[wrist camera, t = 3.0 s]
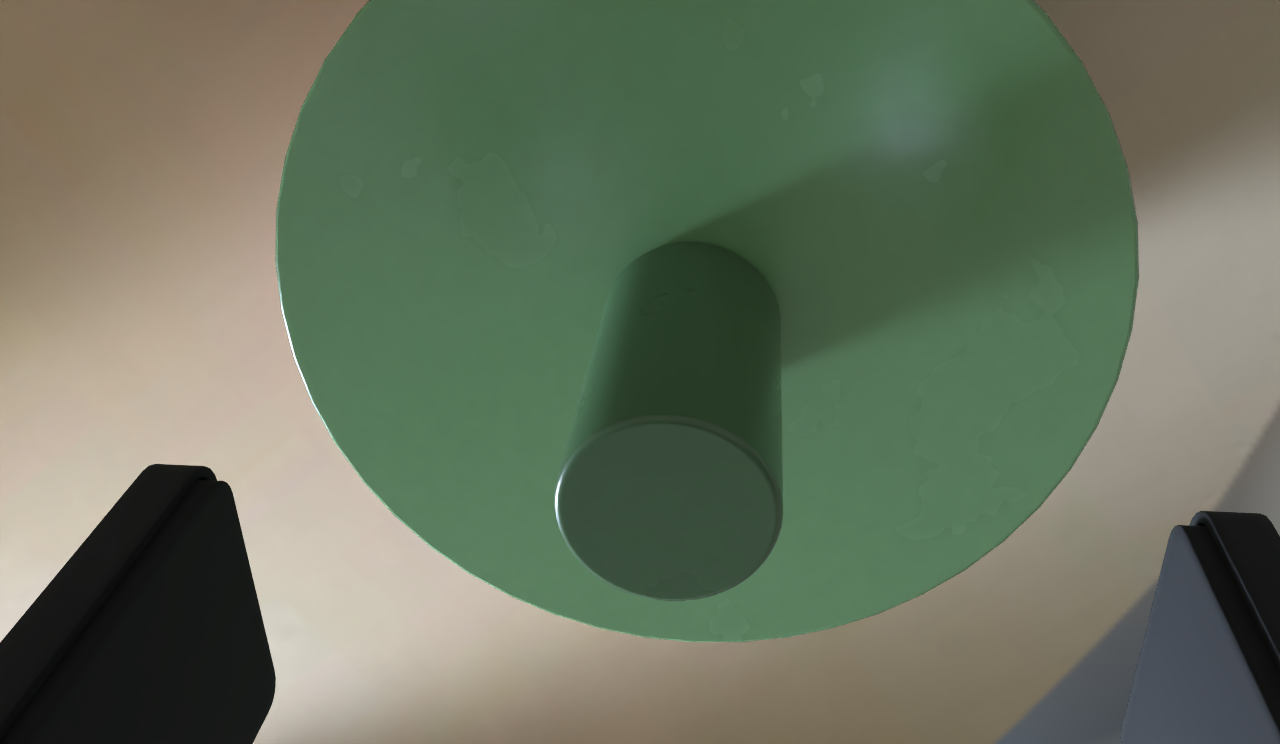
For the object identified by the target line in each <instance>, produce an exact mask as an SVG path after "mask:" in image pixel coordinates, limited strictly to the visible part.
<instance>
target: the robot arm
mask: <svg viewBox="0 0 1280 744" xmlns="http://www.w3.org/2000/svg"><path fill="white" fill-rule="evenodd" d="M275 680H276V678H275V670H274V666H273V662H272V658H271V654H270V649H269V645H268V641H267V637H266V632H265V628H264V624H263V620H262V615H261V611H260V607H259V603H258V599H257V594H256V590H255V586H254V582H253V577H252V573H251V569H250V565H249V560H248V556H247V552H246V548H245V544H244V539H243V535H242V531H241V527H240V522H239V518H238V514H237V510H236V505H235V501H234V497H233V493H232V490H231V488H230V486H229V485H228V483H226V482H224V481H217V479H216V476H215V474H214V473H213V472H212V470H211V469H210V468H207V467H205V466H187V465H165V464H154V465H150V466H148V467H147V468H146V469H145V470H143V471H142V473H141V474H140V475H139V476H138V477H137V479H136V480H135V481H134V482H133V483H132V485H131V486H130V487H129V488H128V489H127V491H126V492H125V493H124V494H123V495H122V497H121V498H120V499H119V500H118V502H117V503H116V504H115V505H114V506H113V508H112V509H111V510H110V511H109V512H108V514H107V515H106V516H105V517H104V518H103V520H102V521H101V522H100V523H99V524H98V526H97V527H96V528H95V529H94V530H93V532H92V533H91V534H90V535H89V536H88V538H87V539H86V540H85V541H84V542H83V544H82V545H81V546H80V547H79V549H78V550H77V551H76V552H75V553H74V555H73V556H72V557H71V558H70V559H69V561H68V562H67V563H66V564H65V565H64V567H63V568H62V569H61V570H60V571H59V573H58V574H57V575H56V576H55V577H54V579H53V580H52V581H51V582H50V583H49V585H48V586H47V587H46V588H45V590H44V591H43V592H42V593H41V594H40V596H39V597H38V598H37V599H36V600H35V602H34V603H33V604H32V605H31V606H30V608H29V609H28V610H27V611H26V612H25V614H24V615H23V616H22V617H21V618H20V620H19V621H18V622H17V623H16V624H15V626H14V627H13V628H12V629H11V631H10V632H9V633H8V634H7V635H6V637H5V638H4V639H3V640H2V641H1V643H0V744H252V743H253V742H254V740H255V738H256V736H257V734H258V732H259V730H260V728H261V726H262V724H263V722H264V720H265V718H266V716H267V714H268V712H269V710H270V707H271V705H272V702H273V698H274V693H275ZM1121 744H1280V536H1279V535H1278V533H1277V531H1276V529H1275V528H1274V526H1273V524H1272V523H1271V521H1270V520H1269V519H1268V518H1267V516H1265V515H1262V514H1257V513H1235V512H1234V513H1233V512H1212V511H1200V512H1198V513H1196V514H1195V516H1194V517H1193V518H1192V520H1191V523H1190V526H1185V525H1177V526H1175V527H1174V528H1173V530H1172V531H1171V534H1170V537H1169V540H1168V544H1167V548H1166V552H1165V556H1164V560H1163V564H1162V568H1161V572H1160V576H1159V580H1158V584H1157V588H1156V592H1155V596H1154V601H1153V604H1152V608H1151V612H1150V616H1149V620H1148V625H1147V628H1146V632H1145V636H1144V641H1143V644H1142V648H1141V652H1140V657H1139V661H1138V665H1137V669H1136V673H1135V677H1134V681H1133V685H1132V689H1131V693H1130V697H1129V701H1128V705H1127V709H1126V713H1125V717H1124V721H1123V725H1122V731H1121Z"/></svg>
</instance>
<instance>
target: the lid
mask: <svg viewBox="0 0 1280 744" xmlns="http://www.w3.org/2000/svg"><path fill="white" fill-rule="evenodd" d="M275 260H276V269H277V277H278V285H279V294H280V302H281V310H282V314H283V318H284V322H285V326H286V329H287V333H288V337H289V341H290V345H291V348H292V352H293V356H294V359H295V362H296V364H297V366H298V369H299V371H300V374H301V376H302V379H303V381H304V384H305V386H306V389H307V391H308V393H309V396H310V398H311V401H312V403H313V405H314V406H315V408H316V410H317V412H318V414H319V415H320V417H321V419H322V421H323V422H324V424H325V426H326V428H327V430H328V431H329V433H330V435H331V437H332V439H333V440H334V442H335V444H336V445H337V447H338V448H339V449H340V451H341V452H342V453H343V455H344V456H345V457H346V459H347V460H348V462H349V463H350V464H351V466H352V467H353V468H354V470H355V471H356V472H357V474H358V475H359V477H360V478H361V479H362V481H363V482H364V483H365V484H366V485H367V486H368V487H369V488H370V489H371V491H372V492H373V493H374V494H375V495H376V496H377V497H378V498H379V499H380V500H381V501H382V502H383V503H384V505H385V506H386V507H387V508H388V509H389V510H390V511H391V512H392V513H393V514H394V515H395V516H396V517H397V518H398V519H399V520H400V521H401V522H403V523H404V524H405V525H406V526H407V527H408V528H410V529H411V530H412V531H413V532H414V533H415V534H416V535H418V536H419V537H420V538H421V539H422V540H423V541H425V542H426V543H427V544H428V545H429V546H430V547H432V548H433V549H435V550H436V551H438V552H439V553H440V554H442V555H443V556H445V557H446V558H448V559H449V560H451V561H452V562H453V563H455V564H456V565H458V566H459V567H461V568H462V569H464V570H465V571H466V572H468V573H469V574H471V575H473V576H475V577H477V578H478V579H480V580H482V581H484V582H486V583H488V584H489V585H491V586H493V587H495V588H497V589H499V590H500V591H502V592H504V593H506V594H508V595H510V596H512V597H514V598H516V599H519V600H521V601H524V602H526V603H528V604H531V605H533V606H535V607H538V608H540V609H543V610H545V611H547V612H550V613H552V614H555V615H558V616H561V617H564V618H568V619H571V620H574V621H577V622H581V623H584V624H587V625H591V626H594V627H597V628H601V629H606V630H611V631H616V632H621V633H626V634H631V635H636V636H641V637H646V638H656V639H666V640H676V641H686V642H746V641H756V640H766V639H776V638H786V637H791V636H796V635H801V634H806V633H811V632H816V631H821V630H825V629H830V628H835V627H838V626H841V625H844V624H847V623H850V622H854V621H857V620H860V619H863V618H866V617H870V616H873V615H876V614H879V613H881V612H884V611H886V610H888V609H890V608H893V607H895V606H897V605H900V604H902V603H904V602H906V601H909V600H911V599H913V598H916V597H918V596H920V595H922V594H924V593H926V592H928V591H930V590H931V589H933V588H935V587H936V586H938V585H940V584H942V583H943V582H945V581H947V580H949V579H950V578H952V577H954V576H956V575H957V574H959V573H961V572H962V571H964V570H966V569H967V568H968V567H970V566H971V565H972V564H974V563H975V562H976V561H978V560H979V559H981V558H982V557H983V556H985V555H986V554H987V553H989V552H990V551H991V550H993V549H994V548H995V547H997V546H998V545H999V544H1001V543H1002V542H1003V541H1005V540H1006V539H1007V538H1008V537H1009V536H1010V535H1011V534H1012V533H1013V532H1014V531H1015V530H1016V529H1017V528H1018V527H1019V526H1020V525H1021V524H1023V523H1024V522H1025V521H1026V520H1027V519H1028V518H1029V517H1030V516H1031V515H1032V514H1033V513H1034V512H1035V511H1036V510H1037V509H1038V508H1039V507H1040V506H1041V505H1042V504H1043V502H1044V501H1045V500H1046V499H1047V498H1048V496H1049V495H1050V494H1051V493H1052V491H1053V490H1054V489H1055V488H1056V487H1057V485H1058V484H1059V483H1060V482H1061V480H1062V479H1063V478H1064V477H1065V476H1066V474H1067V473H1068V472H1069V471H1070V470H1071V468H1072V466H1073V465H1074V463H1075V461H1076V460H1077V458H1078V457H1079V455H1080V453H1081V452H1082V450H1083V449H1084V447H1085V445H1086V444H1087V442H1088V441H1089V439H1090V437H1091V436H1092V434H1093V432H1094V431H1095V429H1096V428H1097V426H1098V423H1099V421H1100V419H1101V417H1102V414H1103V412H1104V410H1105V408H1106V405H1107V403H1108V401H1109V399H1110V396H1111V394H1112V392H1113V390H1114V387H1115V385H1116V383H1117V381H1118V378H1119V374H1120V370H1121V367H1122V363H1123V360H1124V356H1125V353H1126V349H1127V346H1128V342H1129V339H1130V335H1131V332H1132V326H1133V319H1134V311H1135V303H1136V295H1137V288H1138V280H1139V261H1138V222H1137V217H1136V211H1135V205H1134V200H1133V194H1132V188H1131V183H1130V177H1129V171H1128V167H1127V164H1126V161H1125V158H1124V155H1123V152H1122V149H1121V147H1120V144H1119V141H1118V138H1117V135H1116V132H1115V129H1114V126H1113V123H1112V120H1111V117H1110V114H1109V112H1108V110H1107V109H1106V107H1105V105H1104V103H1103V101H1102V99H1101V97H1100V95H1099V93H1098V91H1097V90H1096V88H1095V86H1094V84H1093V82H1092V80H1091V78H1090V76H1089V74H1088V72H1087V71H1086V69H1085V67H1084V65H1083V63H1082V61H1081V60H1080V58H1079V57H1078V56H1077V54H1076V53H1075V52H1074V50H1073V49H1072V48H1071V46H1070V45H1069V44H1068V42H1067V41H1066V40H1065V38H1064V37H1063V35H1062V34H1061V33H1060V31H1059V30H1058V29H1057V27H1056V26H1055V25H1054V23H1053V22H1052V21H1051V19H1050V18H1049V17H1048V15H1047V14H1046V13H1045V11H1044V10H1043V9H1042V8H1041V7H1040V6H1039V4H1038V3H1037V2H1036V1H1035V0H369V1H368V2H367V3H366V4H365V5H364V7H363V8H362V9H361V10H360V11H359V12H358V13H357V14H356V16H355V17H354V19H353V20H352V22H351V23H350V24H349V26H348V27H347V29H346V30H345V32H344V33H343V34H342V36H341V37H340V39H339V40H338V42H337V43H336V44H335V46H334V47H333V49H332V50H331V52H330V53H329V54H328V56H327V57H326V59H325V61H324V63H323V65H322V67H321V69H320V71H319V73H318V75H317V77H316V79H315V81H314V83H313V85H312V87H311V89H310V91H309V93H308V95H307V97H306V99H305V101H304V103H303V105H302V107H301V110H300V113H299V116H298V119H297V122H296V125H295V128H294V132H293V135H292V138H291V141H290V144H289V147H288V150H287V153H286V156H285V161H284V167H283V173H282V179H281V185H280V191H279V197H278V203H277V209H276V257H275Z"/></svg>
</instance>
